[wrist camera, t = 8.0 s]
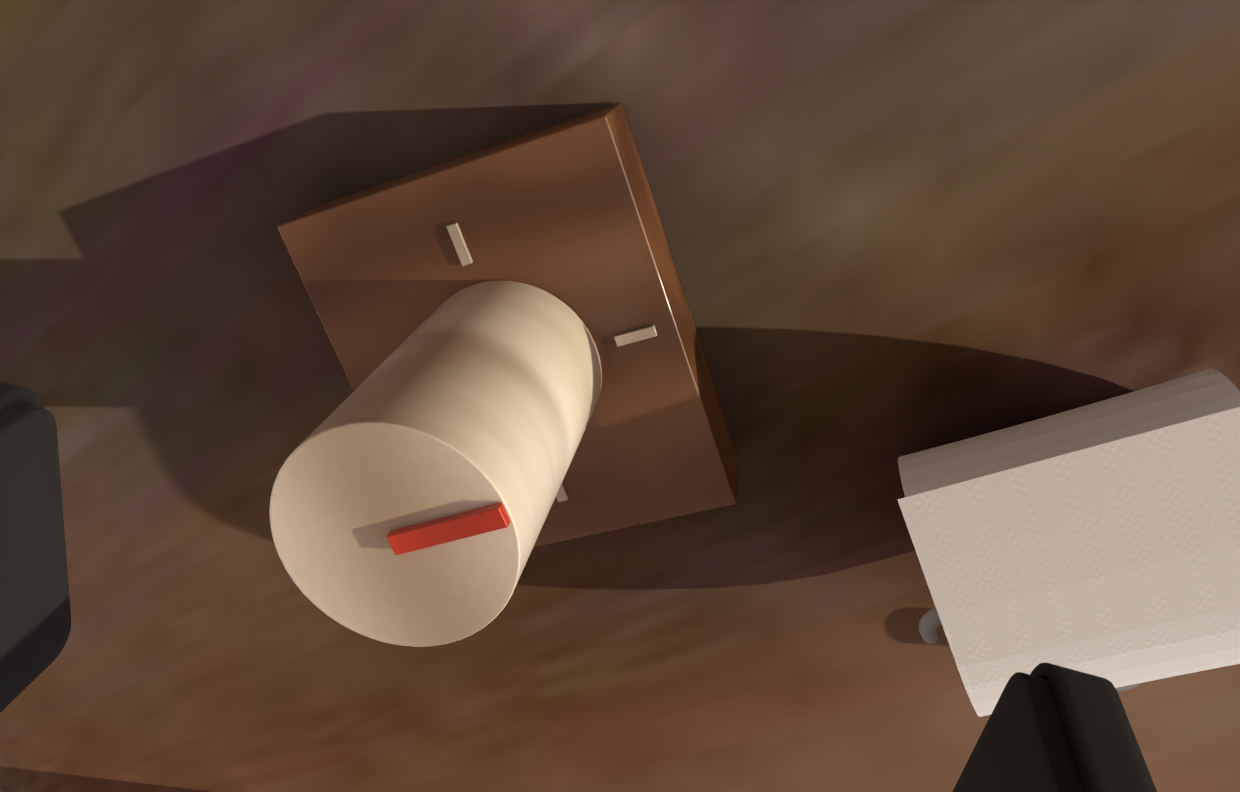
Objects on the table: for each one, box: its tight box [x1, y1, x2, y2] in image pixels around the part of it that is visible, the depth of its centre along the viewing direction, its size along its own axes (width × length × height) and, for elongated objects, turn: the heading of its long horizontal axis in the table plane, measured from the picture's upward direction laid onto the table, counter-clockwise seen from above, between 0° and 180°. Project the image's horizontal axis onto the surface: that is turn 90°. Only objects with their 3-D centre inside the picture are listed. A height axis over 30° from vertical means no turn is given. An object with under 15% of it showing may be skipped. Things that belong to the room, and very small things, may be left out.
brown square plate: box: [278, 103, 740, 547], centre depth 35 cm, size 14×12×3 cm
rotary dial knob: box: [269, 281, 602, 647], centre depth 29 cm, size 6×6×11 cm
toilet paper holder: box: [898, 369, 1240, 717], centre depth 32 cm, size 12×9×15 cm
